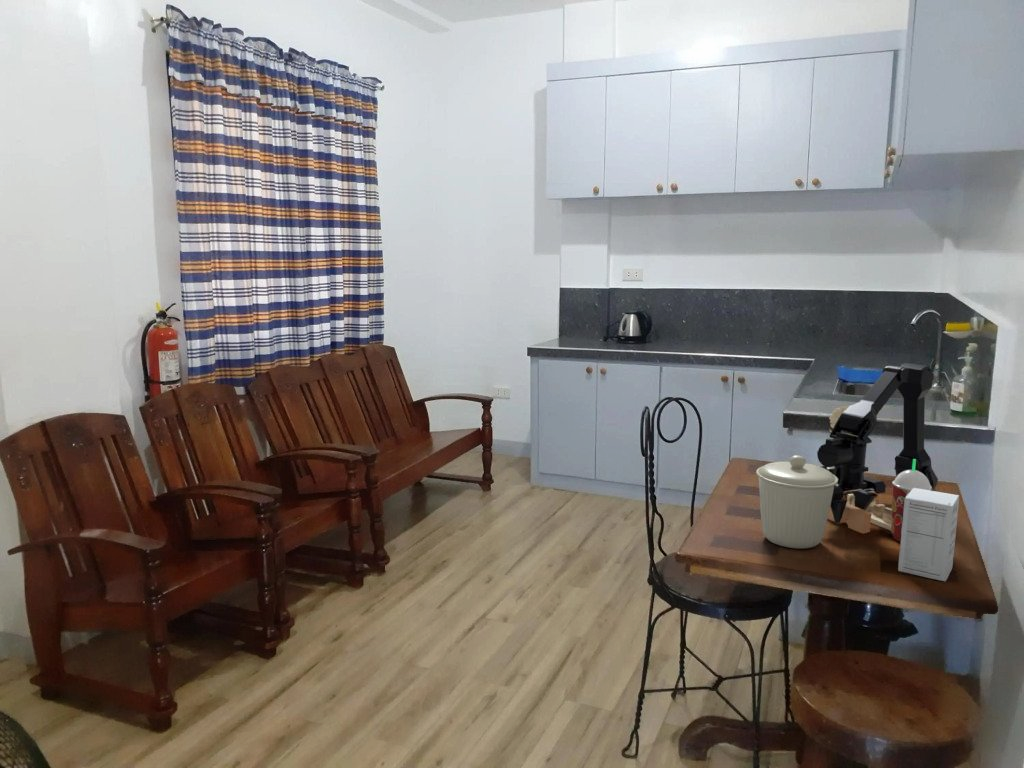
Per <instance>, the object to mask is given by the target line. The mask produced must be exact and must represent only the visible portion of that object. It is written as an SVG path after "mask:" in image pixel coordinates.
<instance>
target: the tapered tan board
mask: <svg viewBox="0 0 1024 768" xmlns="http://www.w3.org/2000/svg"><path fill="white" fill-rule="evenodd" d="M827 520H829V521H832V522H834V523H836V522H835V520H834V516H833V513H832V509H831V506H830V510H829V514H828V519H827ZM846 520H847V521H848V523H847V528H848V529H849V530H850V529H851V530H853V531H856V532H858V533H859V534H867V533H868V532H869V533H870V532H871V524H872V523H871V513H870V512H868V511H865V510H862V509H860V508H857V507H855V506H852V505H849V504H847V503H846V506H845V509H844V512H843V515H842V518H841V521H840V523H837V524H844V523H846Z"/></svg>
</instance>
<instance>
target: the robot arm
mask: <svg viewBox="0 0 1024 768" xmlns="http://www.w3.org/2000/svg"><path fill="white" fill-rule="evenodd" d="M934 378H935V376H934V372H933V369H931V368H930V367H929V366H927V365H921V364H914V363H908V362H906V363H902V364H900V366H898V365H897V366H896V365H886V366H884V368H883V370H882V373H881V375H880V376H879V377H878V378H877V380H876V381H875V382H874V383H873V384H872V386H871V387H870V388H869V390H868V391H867V392H866V393H865V395H863V397H862V398H861V399H860V401H858V402H857V403H854V404H851V405H848V406H849V407H848V408H847V409H846V410H845V411H844V412H843V413H842V414H841V415H840V417H839V419H838V420H837V422H836V424H835V426H834V428H832V430H831V431H832V432H830V434H829V438H826V439H825V443H824V444H822V445H820V447H819V448H818V450H817V452H816V453H817V454H816V455H817V456H816V457H817V459H818V461H819V463H820V464H821V465H822V466H820V467H822V468H824V469H826V470H828V471H830V472H831V473H832V474H834V475H835V476H836V477H837V478H838V483H837V484H838V486H835V485H834V490H833V495H832V500H831V505H830V506H831V509H832V513H833V516H834V520H835V522H834V523H836V524H838V523H839V524H841V523H840V521H841V518H842V515H843V512H844V509H845V506H846V503H847V498H846V499H845V498H844V495H845V494H847V493H848V494H849V493H852V494H854V496H855V507H857V508H860V509H862V510H866V509H867V507H868V506H869V505H870V503H871V502H872V501H873V500H874V498H875V497H876V498H877V497H878V495H879V494H884V493H886V488H887V487H886V486H887V485H886V484H885V481H883V480H881V479H877V478H874V477H871V476H865V472H869V467H868V466H866V455H867V446H868V444H871V443H872V442H873V441H872V439H871V438H870V437H869V436H870V435H871V434H872V432H873V431H874V429H875V427H876V425H877V423H878V418H877V417H878V414H879V413H880V411H882V409H883V407H884V406H885V405H886V404H887V402H888V401H889V399H890V398H891V397H892V396H893V395H894V393H895V392H896V391H897V390H898V392H899V393H900V394H901V396H902V399H903V409H902V411H903V412H902V413H903V414H902V415H903V419H902V421H903V422H902V423H903V424H902V425H903V426H902V432H903V435H902V437H903V439H902V440H903V441H902V446H903V448H902V449H901V451H900V453H899V454H898V455H896V456H895V457H894V470H895V471H894V472H895V478H896V477H897V476H898V475H899V474H900V473H901V472H903V471H906V470H912V464H913V459H916V465H915V470H917V471H919V472H921V473H923V474H924V475H925V476H926V477H927V479H928V480H929V483H930V485H931V486H932V489H931V490H934V489H935V488H936V487H937V484H938V481H939V478H938V477H937V475H936V473H935V471H934V469H933V467H932V459H931V457H930V455H929V454H928V452H927V451H926V449H925V409H926V407H925V401H926V396H927V395H928V393H929V392H930V391H931V389H932V388H933V380H934ZM841 431H842V432H841ZM844 433H847V434H844ZM848 434H851V435H848ZM852 435H855V436H852ZM834 466H835V468H832V469H827V467H834ZM874 492H875V493H874Z"/></svg>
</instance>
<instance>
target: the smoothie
mask: <svg viewBox="0 0 1024 768" xmlns="http://www.w3.org/2000/svg"><path fill="white" fill-rule="evenodd" d="M915 465H916V459H913V464H912V470H906V471H903V472H901V473H900V474H899V475H898V476H897V477H896V476H895V479H894V480H893V481H892V483H891V485H892V494H891V495H892V496H891V509H892V521H891V531H890V533H891V534H892V537H893V539H894V540H896V541H898V542H900V543H901V530H902V522H903V511H904V501H905V497H906V496H907V495H908V494H909V493H910V491H911V490H912V489H913V488H918V489H924V490H930V491H932V490H933V489H932V486H931V485H930V483H929V480H928V479H927V477H926V476H925V475H924V474H923V473H921V472H919V471H917V470H915Z"/></svg>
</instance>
